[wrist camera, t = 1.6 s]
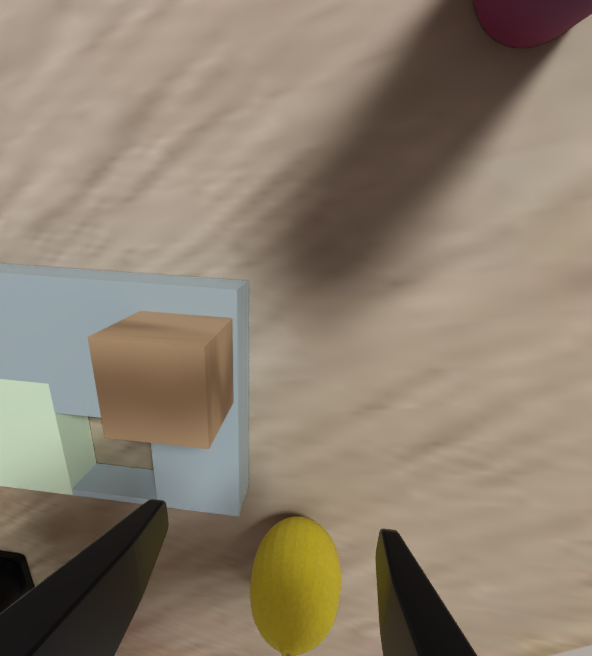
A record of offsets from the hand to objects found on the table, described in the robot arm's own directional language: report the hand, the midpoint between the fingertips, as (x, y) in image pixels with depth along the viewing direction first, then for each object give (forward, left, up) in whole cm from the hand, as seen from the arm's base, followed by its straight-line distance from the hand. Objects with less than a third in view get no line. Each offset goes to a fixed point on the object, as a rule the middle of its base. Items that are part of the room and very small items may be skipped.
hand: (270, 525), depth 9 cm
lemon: (-14, 0, -12) cm, 18 cm away
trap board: (-4, +17, -12) cm, 21 cm away
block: (0, +6, -10) cm, 11 cm away
